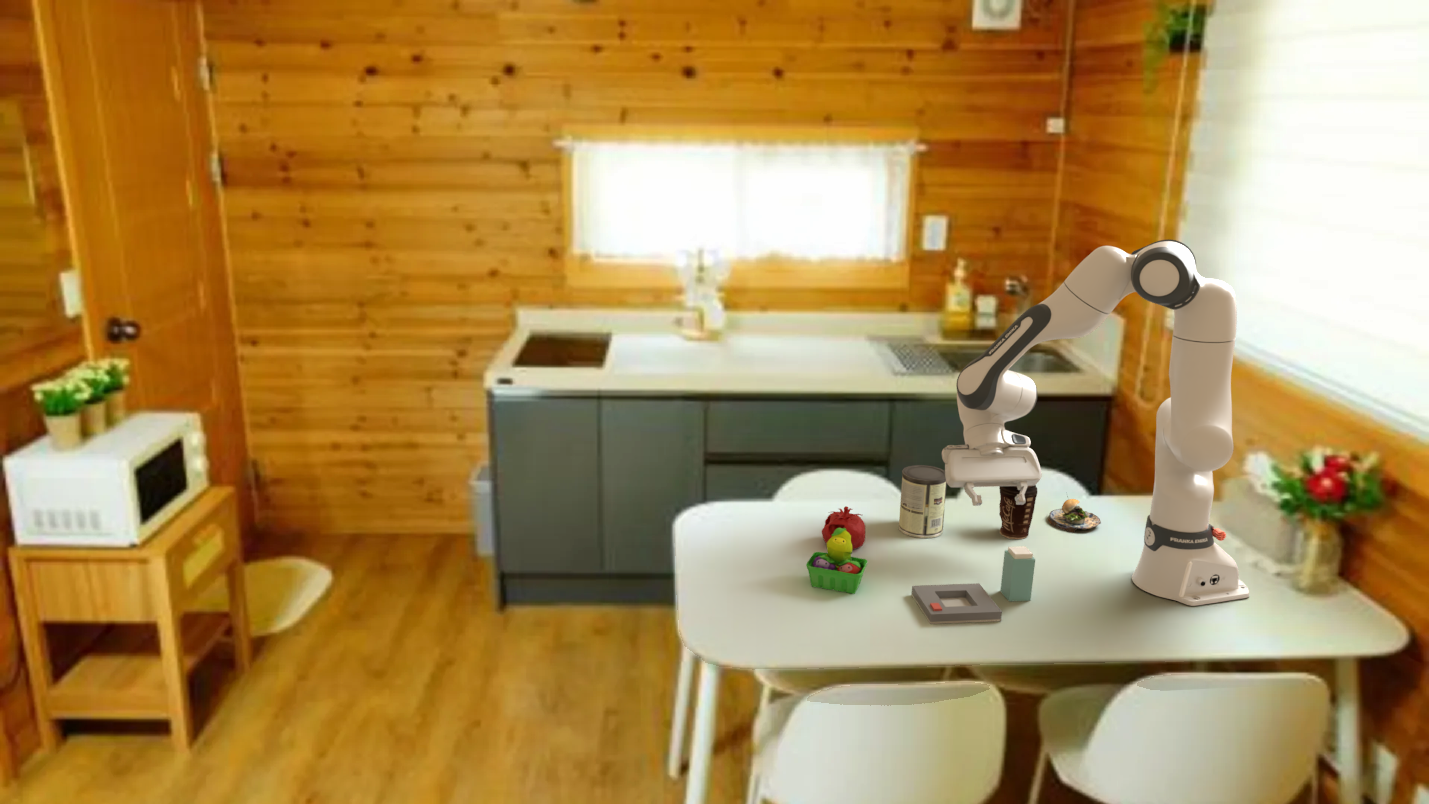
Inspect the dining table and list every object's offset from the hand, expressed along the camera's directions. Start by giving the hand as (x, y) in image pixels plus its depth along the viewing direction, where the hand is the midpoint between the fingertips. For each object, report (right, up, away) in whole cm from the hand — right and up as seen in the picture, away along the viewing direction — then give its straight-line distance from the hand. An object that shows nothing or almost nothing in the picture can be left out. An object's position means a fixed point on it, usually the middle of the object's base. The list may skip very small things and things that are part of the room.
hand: (999, 504), depth 218 cm
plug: (+1, -18, -7) cm, 19 cm away
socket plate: (-12, -19, -13) cm, 26 cm away
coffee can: (-12, -8, +24) cm, 28 cm away
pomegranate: (-31, -11, +15) cm, 36 cm away
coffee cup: (+9, -9, +23) cm, 26 cm away
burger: (+26, -8, +30) cm, 40 cm away
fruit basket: (-35, -16, -4) cm, 38 cm away
